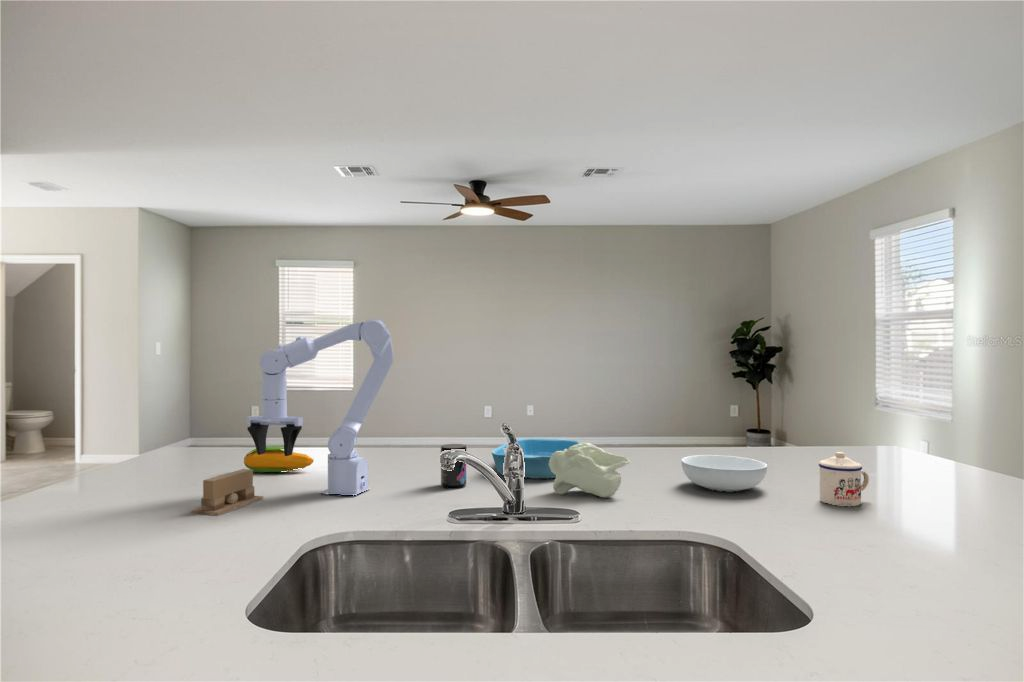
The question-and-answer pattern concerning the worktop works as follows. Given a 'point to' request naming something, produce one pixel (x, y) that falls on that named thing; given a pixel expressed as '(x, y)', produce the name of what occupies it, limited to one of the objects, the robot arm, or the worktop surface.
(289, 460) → the corn
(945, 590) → the worktop surface
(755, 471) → the serving bowl
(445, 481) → the supplement container
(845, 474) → the teacup with lid
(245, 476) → the long wooden plank
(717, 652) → the worktop surface
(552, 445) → the casserole dish
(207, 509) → the display stand
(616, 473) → the folded clay sculpture
